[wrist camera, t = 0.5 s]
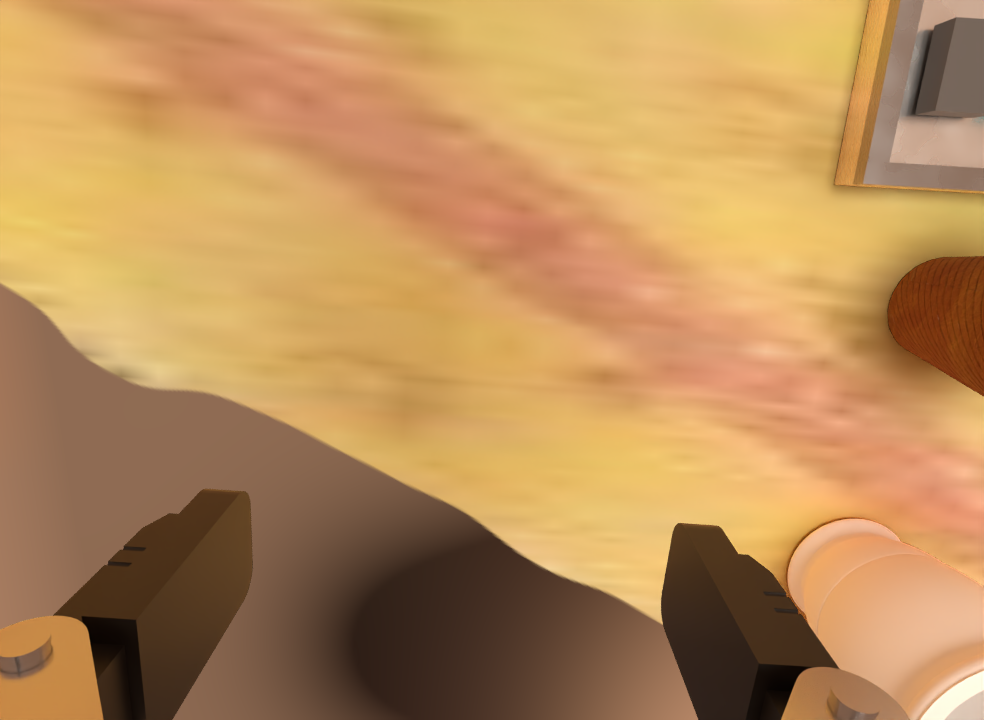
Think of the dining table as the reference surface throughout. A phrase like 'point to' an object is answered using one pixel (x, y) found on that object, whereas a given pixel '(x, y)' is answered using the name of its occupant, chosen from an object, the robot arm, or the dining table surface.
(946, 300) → the disposable coffee cup
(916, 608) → the jar
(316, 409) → the dining table surface
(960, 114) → the grey rectangular prism
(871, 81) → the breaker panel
